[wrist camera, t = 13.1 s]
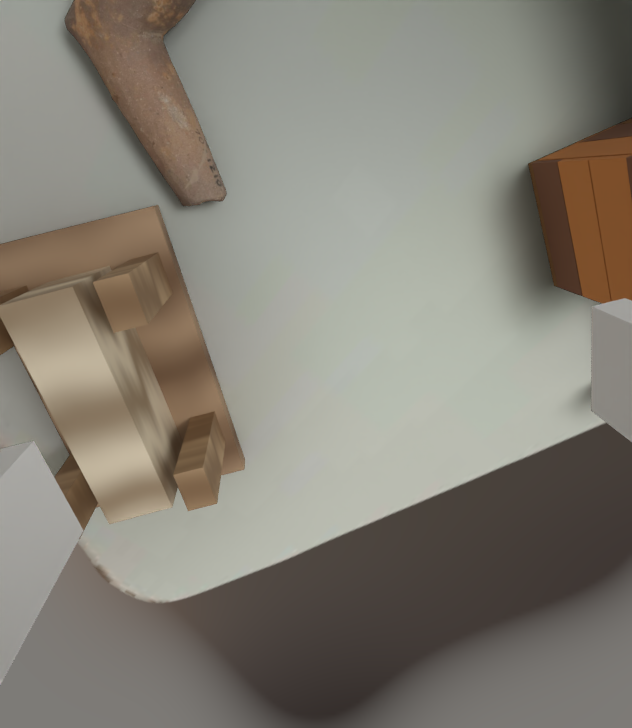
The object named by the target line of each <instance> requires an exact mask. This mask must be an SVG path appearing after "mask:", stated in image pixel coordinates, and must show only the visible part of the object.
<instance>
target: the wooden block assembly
mask: <svg viewBox="0 0 632 728" xmlns="http://www.w3.org/2000/svg"><path fill="white" fill-rule="evenodd" d="M107 266H110V268H111V270H112V271H110V272H109V273H107V274H105V275H104V276H102V277H100V278H99V279H97V280H95V281H94V282H93V284H94V287H95V289H96V291H97V294H98V296H99V299H100V301H101V303H102V306H103V308H104V311H105V313H106V315H107V318H108V320H109V323H110V325H111V327H112V330H113V332H114V333H116V332H120V331H124V330H128V329H132V328H136V331H137V333H138V336H139V338H140V340H141V343H142V345H143V348H144V350H145V352H146V355H147V357H148V360H149V362H150V365H151V367H152V369H153V372H154V374H155V377H156V379H157V381H158V384H159V386H160V389H161V391H162V393H163V396H164V398H165V401H166V403H167V406H168V408H169V410H170V413H171V415H172V418H173V420H174V422H175V425H176V427H177V430H178V432H179V435H180V437H181V439H182V442H183V444H182V447H181V451H180V454H179V457H178V461H177V464H176V467H175V471H174V474H173V476H174V478H175V481H176V483H177V485H178V488H179V490H180V493H181V495H182V497H183V500H184V502H185V505H186V507H187V509H188V511H190V510H194V509H198V508H202V507H206V506H209V505H213V504H217V500H218V493H219V486H220V479H221V475H224V474H228V473H232V472H236V471H240V470H244V468H245V458H244V455H243V452H242V449H241V446H240V444H239V441H238V438H237V435H236V432H235V429H234V426H233V423H232V420H231V417H230V414H229V411H228V408H227V405H226V403H225V400H224V397H223V394H222V391H221V388H220V385H219V382H218V379H217V376H216V373H215V370H214V367H213V364H212V361H211V359H210V356H209V353H208V350H207V347H206V344H205V341H204V338H203V335H202V332H201V329H200V326H199V323H198V320H197V317H196V315H195V312H194V309H193V306H192V303H191V300H190V297H189V294H188V291H187V288H186V285H185V282H184V279H183V276H182V273H181V271H180V268H179V265H178V262H177V259H176V256H175V253H174V250H173V247H172V244H171V241H170V238H169V235H168V232H167V230H166V227H165V224H164V221H163V218H162V215H161V212H160V209H159V206H158V205H156V206H152V207H148V208H144V209H140V210H136V211H132V212H128V213H124V214H120V215H116V216H112V217H108V218H104V219H99V220H95V221H91V222H87V223H83V224H79V225H75V226H71V227H67V228H63V229H59V230H55V231H51V232H47V233H43V234H39V235H35V236H31V237H27V238H23V239H19V240H15V241H11V242H7V243H3V244H0V305H1V304H3V303H5V302H7V301H9V300H11V299H13V298H15V297H18V296H20V295H22V294H24V293H26V292H28V291H30V290H32V289H34V288H36V287H39V286H41V285H43V284H45V283H47V282H50V281H54V280H58V279H62V278H65V277H69V276H73V275H77V274H80V273H84V272H88V271H92V270H95V269H99V268H103V267H107ZM13 346H14V347H15V349H16V351H17V353H18V355H19V357H20V359H21V361H22V363H23V365H24V367H25V369H26V370H27V372H28V374H29V376H30V378H31V380H32V382H33V384H34V386H35V388H36V390H37V392H38V394H39V396H40V398H41V400H42V402H43V404H44V406H45V408H46V410H47V412H48V414H49V416H50V418H51V419H52V421H53V423H54V425H55V427H56V429H57V431H58V433H59V435H60V437H61V439H62V441H63V443H64V445H65V447H66V449H67V451H68V453H69V455H70V456H69V457H68V458H67V460H66V461H65V463H64V464H63V466H62V467H61V468H60V470H59V471H58V473H57V474H56V476H55V477H54V478H55V480H56V482H57V483H58V485H59V487H60V489H61V491H62V492H63V494H64V496H65V498H66V500H67V502H68V503H69V505H70V507H71V509H72V511H73V512H74V514H75V516H76V518H77V520H78V521H79V523H80V525H81V527H82V529H83V531H84V529H85V527H86V525H87V524H88V522H89V520H90V518H91V516H92V514H93V512H94V510H95V508H96V507H100V505H99V504H98V502H97V500H96V498H95V496H94V494H93V492H92V490H91V488H90V486H89V485H88V483H87V481H86V479H85V477H84V475H83V473H82V471H81V469H80V468H79V466H78V464H77V462H76V460H75V458H74V456H73V454H72V452H71V450H70V449H69V447H68V445H67V443H66V441H65V439H64V437H63V435H62V433H61V431H60V430H59V428H58V426H57V424H56V422H55V420H54V418H53V416H52V414H51V412H50V411H49V409H48V407H47V405H46V403H45V401H44V399H43V397H42V395H41V394H40V392H39V390H38V388H37V386H36V384H35V382H34V380H33V378H32V376H31V375H30V373H29V371H28V369H27V367H26V365H25V363H24V361H23V359H22V357H21V356H20V354H19V352H18V350H17V348H16V346H15V344H14V342H13V340H12V338H11V337H10V335H9V333H8V331H7V329H6V327H5V325H4V323H3V321H2V320H1V318H0V355H1V354H3V353H4V352H6V351H7V350H9V349H10V348H12V347H13ZM81 535H82V534H81ZM80 537H81V536H80ZM79 539H80V538H79Z"/></svg>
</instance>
